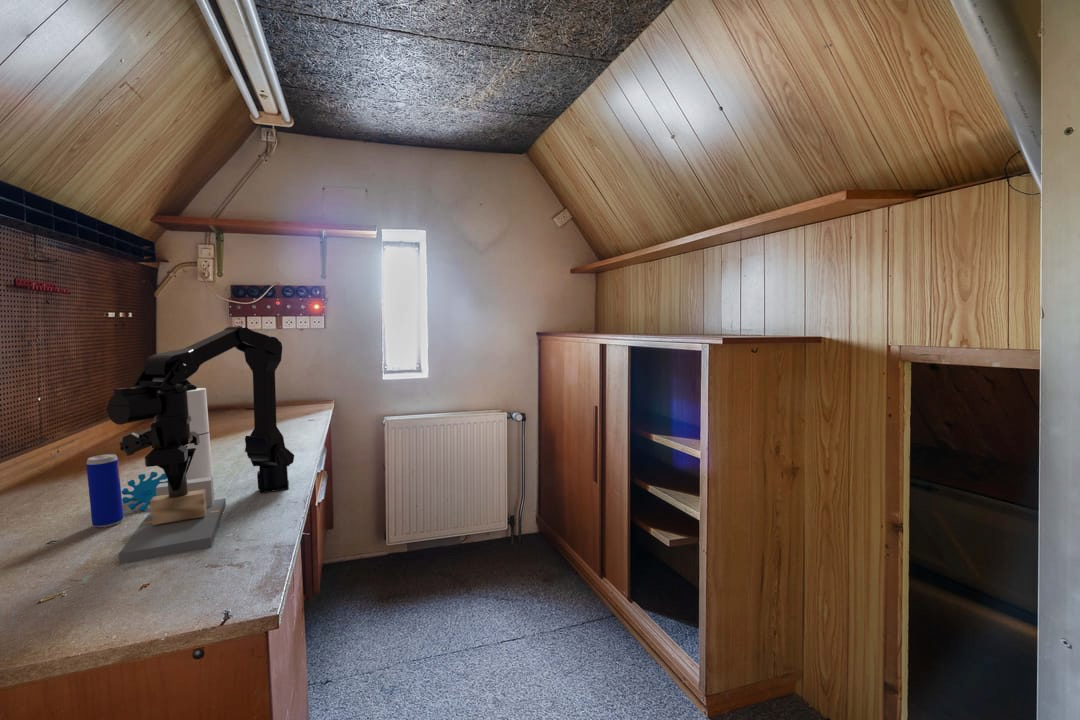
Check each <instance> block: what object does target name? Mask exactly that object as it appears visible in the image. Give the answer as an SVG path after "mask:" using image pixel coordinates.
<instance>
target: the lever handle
mask: <svg viewBox="0 0 1080 720" xmlns="http://www.w3.org/2000/svg"><path fill="white" fill-rule="evenodd" d="M166 481H168V479H166ZM168 492H169V495H162V496H155V497H153V498H152V499H151V501H150V503H149V506H150V511H151V519H152V525H155V524H162V523H168V522H174V521H180V520H186V519H192V518H198V517H204V516H205V515H206V512H207V507H206V494H205V489H204V490H197V491H190V492H188V491H187V478H186V472H185V475H184V478H183V481H182V483H181V486H180V489H179V490H176V491H173V490H172V488H171V485H170V483H169V481H168Z"/></svg>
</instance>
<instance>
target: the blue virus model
mask: <svg viewBox="0 0 1080 720" xmlns="http://www.w3.org/2000/svg"><path fill="white" fill-rule="evenodd" d="M149 474H150V475H149V477H148V478H147V477H146V474H145V473H141V474H138V476H137V477H138V480H139V483H138V484H136V482H135V480H134V479H131V480H129V481H127V485H128V486H129V487H131V488H133V490H131V491H130V490H129V488H127V487H125V488H123V489H121V495H123V497H122V505H123V504H127V503H129V504H127V505H128V508H129V510H131V511H134V510H135V509H136V507H138V506H139V505H140V506H139V507H138V510H139V511H140V512H146V511H147V508H148V506H149V505H150V501H151V499H152V498H153V497H155V496H156V487H157V486H158V485H159V484H162V483H168V480H167V476H166V474H165V472H164V473H162V474H161V475H159V474H158V472H156V471H151V472H150V473H149ZM158 475H159V476H158ZM156 477H157V478H156ZM146 478H147V479H146ZM154 478H155V479H154ZM145 479H146V480H145ZM162 480H165V481H162ZM126 495H130V496H132V497H129V496H126ZM135 501H136V502H135ZM131 502H133V503H131ZM141 504H142V505H141ZM145 510H146V511H145Z"/></svg>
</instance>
